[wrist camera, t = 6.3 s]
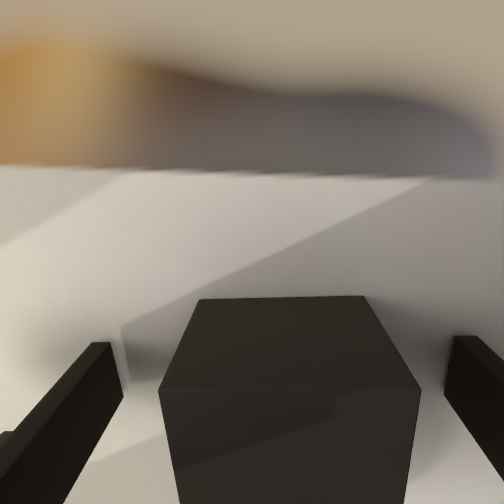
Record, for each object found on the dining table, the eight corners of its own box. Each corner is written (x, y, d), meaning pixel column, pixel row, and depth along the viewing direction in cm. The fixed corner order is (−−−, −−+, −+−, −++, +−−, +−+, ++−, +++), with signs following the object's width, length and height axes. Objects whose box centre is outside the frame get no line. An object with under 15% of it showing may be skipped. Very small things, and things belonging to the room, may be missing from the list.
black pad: (364, 295, 11) (422, 389, 7) (354, 423, 13) (395, 558, 9) (198, 298, 11) (156, 390, 7) (214, 422, 13) (188, 551, 9)
